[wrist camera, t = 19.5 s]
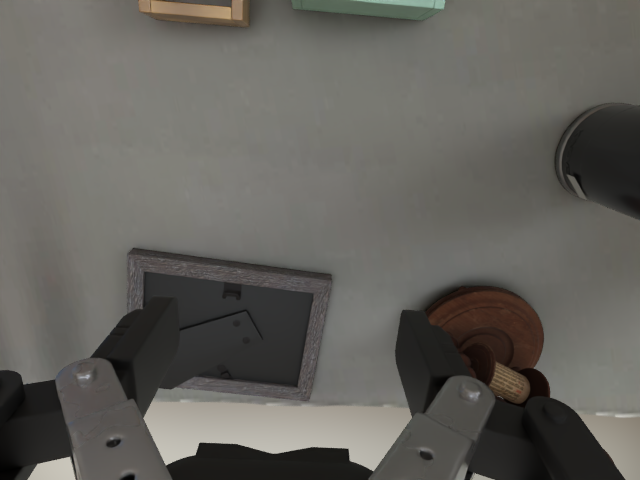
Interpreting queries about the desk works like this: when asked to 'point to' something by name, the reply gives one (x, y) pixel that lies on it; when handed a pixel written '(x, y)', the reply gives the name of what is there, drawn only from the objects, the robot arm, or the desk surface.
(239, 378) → the picture frame
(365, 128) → the desk surface
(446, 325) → the wooden thread spool stand
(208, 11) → the rack
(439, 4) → the tub
